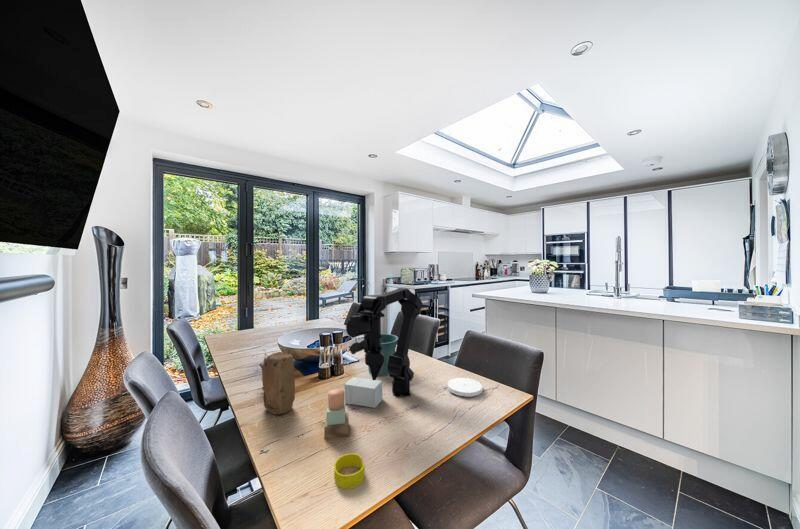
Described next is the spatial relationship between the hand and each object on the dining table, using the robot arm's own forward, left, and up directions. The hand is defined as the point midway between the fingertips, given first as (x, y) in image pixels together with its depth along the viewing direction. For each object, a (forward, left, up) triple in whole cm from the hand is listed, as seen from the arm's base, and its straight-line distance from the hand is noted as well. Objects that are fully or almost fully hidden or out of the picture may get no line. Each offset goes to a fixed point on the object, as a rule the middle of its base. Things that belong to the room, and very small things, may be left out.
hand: (373, 374), depth 103 cm
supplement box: (+9, -11, -9) cm, 17 cm away
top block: (+12, +10, -9) cm, 18 cm away
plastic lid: (-38, -10, -14) cm, 41 cm away
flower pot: (-6, -36, -13) cm, 39 cm away
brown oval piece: (+12, +10, -5) cm, 17 cm away
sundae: (+43, -27, -13) cm, 53 cm away
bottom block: (+12, +10, -13) cm, 21 cm away
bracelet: (+8, +30, -13) cm, 34 cm away
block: (+34, -7, -13) cm, 37 cm away
